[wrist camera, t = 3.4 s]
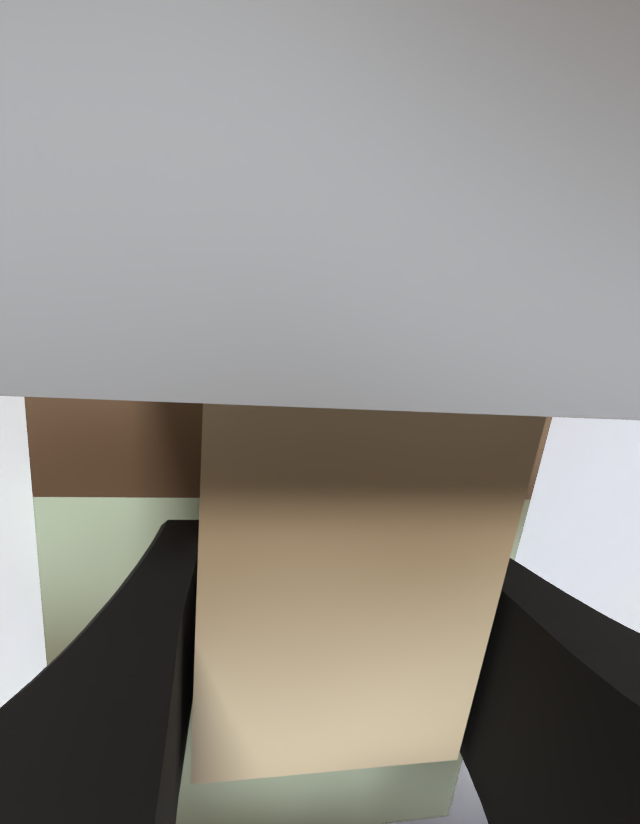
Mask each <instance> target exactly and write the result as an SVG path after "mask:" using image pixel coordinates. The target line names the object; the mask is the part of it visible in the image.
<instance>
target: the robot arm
mask: <svg viewBox="0 0 640 824" xmlns="http://www.w3.org/2000/svg"><path fill="white" fill-rule="evenodd" d="M198 537H199V520H167V521H166V522H165V523H163V524H162V525H161V527H160V529H159V531H158V532H157V534H156V536H155V538H154V539H153V541H152V542H151V544H150V546H149V547H148V549H147V550H146V552H145V553H144V555H143V556H142V557H141V559H140V560H139V562H138V563H137V565H136V566H135V567H134V569H133V570H132V571H131V573H130V574H129V575H128V577H127V578H126V579H125V580H124V582H123V583H122V584H121V586H120V587H119V588H118V590H117V591H116V592H115V593H114V595H113V596H112V597H111V598H110V599H109V601H108V602H107V603H106V604H105V605H104V606H103V607H102V609H101V610H100V611H99V612H98V613H97V614H96V615H95V617H94V618H93V619H92V620H91V621H90V622H89V623H88V625H87V626H86V627H85V628H84V629H83V630H82V631H81V632H80V633H79V635H78V636H77V637H76V638H75V639H74V640H73V641H72V642H71V643H70V644H69V645H68V646H67V647H66V648H65V649H64V650H63V651H62V652H61V653H60V654H59V655H58V656H57V657H56V658H55V659H54V660H53V661H52V662H51V663H50V664H49V665H48V666H47V667H46V668H45V669H43V670H42V671H41V672H40V673H39V674H38V675H37V676H36V677H35V678H34V679H33V680H32V681H31V682H30V683H28V684H27V685H26V686H25V687H24V688H23V689H21V690H20V691H19V692H18V693H17V694H16V695H15V696H13V697H12V698H11V699H10V700H9V701H8V702H7V703H5V704H4V705H3V706H2V707H1V708H0V824H176V816H177V807H178V798H179V791H180V785H181V778H182V771H183V764H184V757H185V750H186V743H187V736H188V729H189V722H190V715H191V709H192V702H193V685H194V656H195V626H196V596H197V567H198ZM459 752H460V754H461V756H462V758H463V760H464V763H465V765H466V767H467V769H468V771H469V774H470V776H471V779H472V781H473V784H474V786H475V788H476V791H477V793H478V796H479V798H480V801H481V803H482V806H483V809H484V812H485V815H486V818H487V821H488V824H640V633H638V632H636V631H634V630H632V629H630V628H628V627H626V626H624V625H622V624H620V623H618V622H616V621H614V620H613V619H611V618H609V617H607V616H605V615H603V614H601V613H600V612H598V611H596V610H594V609H593V608H591V607H589V606H588V605H586V604H584V603H582V602H581V601H579V600H577V599H576V598H574V597H572V596H570V595H569V594H567V593H565V592H564V591H562V590H560V589H559V588H557V587H555V586H554V585H552V584H550V583H549V582H547V581H546V580H544V579H542V578H541V577H539V576H538V575H536V574H535V573H533V572H531V571H530V570H528V569H527V568H525V567H524V566H522V565H520V564H519V563H517V562H516V561H514V560H513V559H511V558H510V559H509V563H508V567H507V570H506V574H505V578H504V582H503V586H502V590H501V594H500V597H499V601H498V605H497V609H496V613H495V617H494V620H493V624H492V628H491V632H490V636H489V640H488V644H487V647H486V651H485V655H484V659H483V663H482V667H481V670H480V674H479V678H478V682H477V686H476V690H475V694H474V697H473V701H472V705H471V709H470V713H469V717H468V720H467V724H466V728H465V732H464V736H463V740H462V744H461V747H460V751H459Z"/></svg>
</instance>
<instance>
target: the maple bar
mask: <svg viewBox="0 0 640 824" xmlns="http://www.w3.org/2000/svg"><path fill="white" fill-rule="evenodd" d="M545 420H546V417H544V416H518V415H492V414H466V413H440V412H414V411H388V410H362V409H336V408H309V407H283V406H257V405H231V404H205V403H203V418H202V448H201V478H200V507H199V537H198V567H197V596H196V626H195V656H194V685H193V715H192V745H191V774H190V785H193V784H204V783H215V782H225V781H236V780H247V779H257V778H268V777H279V776H289V775H300V774H311V773H321V772H332V771H343V770H353V769H364V768H375V767H385V766H396V765H407V764H418V763H428V762H439V761H450V760H457V759H458V755H459V751H460V747H461V744H462V740H463V736H464V732H465V728H466V724H467V720H468V717H469V713H470V709H471V705H472V701H473V697H474V694H475V690H476V686H477V682H478V678H479V674H480V670H481V667H482V663H483V659H484V655H485V651H486V647H487V644H488V640H489V636H490V632H491V628H492V624H493V620H494V617H495V613H496V609H497V605H498V601H499V597H500V594H501V590H502V586H503V582H504V578H505V574H506V570H507V567H508V563H509V559H510V555H511V551H512V547H513V544H514V540H515V536H516V532H517V528H518V524H519V520H520V517H521V513H522V509H523V505H524V501H525V497H526V494H527V490H528V486H529V482H530V478H531V474H532V470H533V467H534V463H535V459H536V455H537V451H538V447H539V444H540V440H541V436H542V432H543V428H544V424H545Z"/></svg>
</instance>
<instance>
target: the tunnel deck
mask: <svg viewBox="0 0 640 824" xmlns="http://www.w3.org/2000/svg"><path fill="white" fill-rule="evenodd" d="M0 396H23V397H25V409H26V421H27V433H28V445H29V457H30V469H31V481H32V493H33V505H34V517H35V528H36V540H37V552H38V564H39V576H40V588H41V600H42V612H43V624H44V636H45V648H46V660H47V666H48V665H49V664H50V663H51V662H52V661H53V660H54V659H55V658H56V657H57V656H58V655H59V654H60V653H61V652H62V651H63V650H64V649H65V648H66V647H67V646H68V645H69V644H70V643H71V642H72V641H73V640H74V639H75V638H76V637H77V636H78V635H79V633H80V632H81V631H82V630H83V629H84V628H85V627H86V626H87V625H88V623H89V622H90V621H91V620H92V619H93V618H94V617H95V615H96V614H97V613H98V612H99V611H100V610H101V609H102V607H103V606H104V605H105V604H106V603H107V602H108V601H109V599H110V598H111V597H112V596H113V595H114V593H115V592H116V591H117V590H118V588H119V587H120V586H121V584H122V583H123V582H124V580H125V579H126V578H127V577H128V575H129V574H130V573H131V571H132V570H133V569H134V567H135V566H136V565H137V563H138V562H139V560H140V559H141V557H142V556H143V555H144V553H145V552H146V550H147V549H148V547H149V546H150V544H151V542H152V541H153V539H154V538H155V536H156V534H157V532H158V531H159V529H160V527H161V525H162V524H163V523H165V522H166V521H167V520H199V507H200V478H201V448H202V418H203V403H205V404H231V405H257V406H283V407H309V408H336V409H362V410H388V411H414V412H440V413H466V414H492V415H518V416H544V417H546V420H545V424H544V428H543V432H542V436H541V440H540V444H539V447H538V451H537V455H536V459H535V463H534V467H533V470H532V474H531V478H530V482H529V486H528V490H527V494H526V497H525V501H524V505H523V509H522V513H521V517H520V520H519V524H518V528H517V532H516V536H515V540H514V544H513V547H512V551H511V555H510V558H511V559H513V560H514V561H515V557H516V553H517V549H518V546H519V542H520V538H521V534H522V530H523V526H524V523H525V519H526V515H527V511H528V507H529V504H530V500H531V496H532V492H533V488H534V484H535V481H536V477H537V473H538V469H539V465H540V462H541V458H542V454H543V450H544V446H545V443H546V439H547V435H548V431H549V427H550V423H551V420H552V417H570V418H596V419H622V420H640V0H0ZM192 715H193V702H192V709H191V715H190V722H189V729H188V736H187V743H186V750H185V757H184V764H183V771H182V778H181V785H180V791H179V798H178V807H177V816H176V824H382V823H391V822H400V821H408V820H417V819H425V818H434V817H442V816H448V813H449V809H450V805H451V801H452V797H453V793H454V790H455V786H456V782H457V778H458V774H459V771H460V767H461V763H462V759H463V758H462V756H461V754H460V752H459V755H458V759H457V760H450V761H439V762H428V763H418V764H407V765H396V766H385V767H375V768H364V769H353V770H343V771H332V772H321V773H311V774H300V775H289V776H279V777H268V778H257V779H247V780H236V781H225V782H215V783H204V784H193V785H190V774H191V745H192Z"/></svg>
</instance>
